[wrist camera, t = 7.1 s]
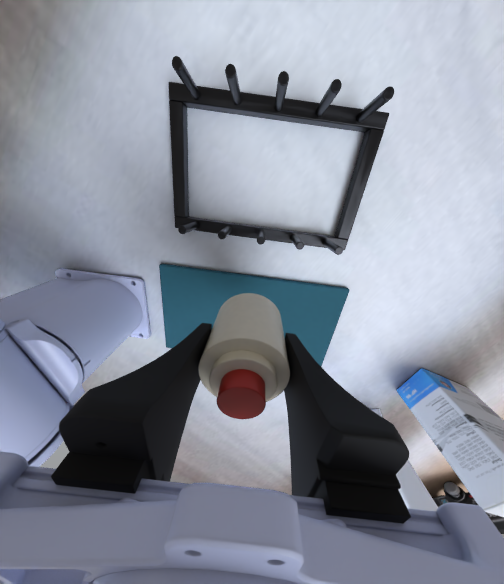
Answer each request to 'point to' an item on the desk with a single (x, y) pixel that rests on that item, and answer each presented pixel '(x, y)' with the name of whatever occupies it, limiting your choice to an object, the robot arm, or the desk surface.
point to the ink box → (461, 434)
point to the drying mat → (223, 285)
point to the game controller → (465, 502)
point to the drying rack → (277, 110)
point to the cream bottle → (245, 356)
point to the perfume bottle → (413, 487)
